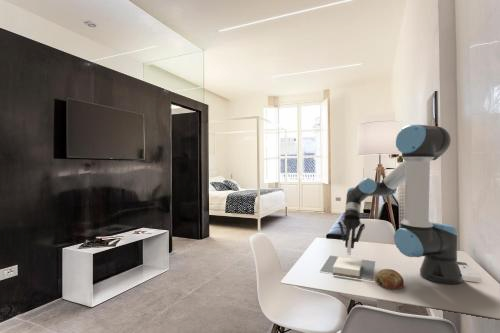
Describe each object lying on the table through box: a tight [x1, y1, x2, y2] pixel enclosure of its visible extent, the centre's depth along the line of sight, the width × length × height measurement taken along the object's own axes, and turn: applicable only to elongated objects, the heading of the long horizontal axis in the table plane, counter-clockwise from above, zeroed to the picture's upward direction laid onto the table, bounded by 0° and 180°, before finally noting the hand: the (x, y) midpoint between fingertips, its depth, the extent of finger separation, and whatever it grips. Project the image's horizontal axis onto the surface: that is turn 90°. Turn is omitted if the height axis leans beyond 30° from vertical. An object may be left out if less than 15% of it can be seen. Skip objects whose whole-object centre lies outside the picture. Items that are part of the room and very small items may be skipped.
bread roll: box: [375, 268, 405, 290], centre depth 114 cm, size 10×10×8 cm
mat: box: [319, 255, 376, 281], centre depth 135 cm, size 26×22×1 cm
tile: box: [332, 256, 363, 278], centre depth 130 cm, size 3×11×16 cm
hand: (348, 253), depth 133 cm, fingers closed
